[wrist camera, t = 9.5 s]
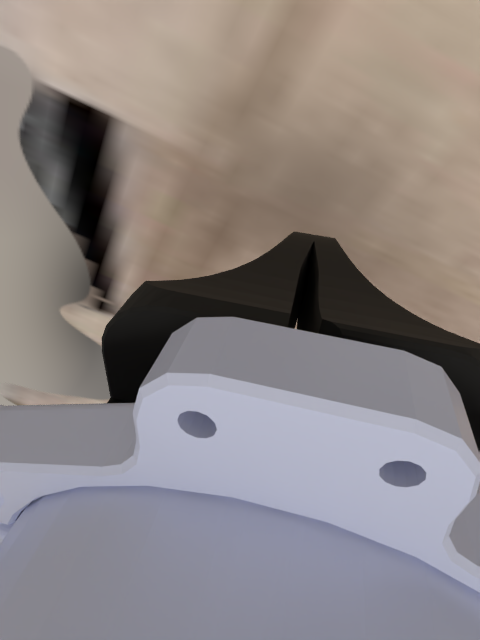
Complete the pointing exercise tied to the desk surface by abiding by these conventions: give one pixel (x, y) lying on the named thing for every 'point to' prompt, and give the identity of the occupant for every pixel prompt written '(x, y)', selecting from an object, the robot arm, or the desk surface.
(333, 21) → the desk surface
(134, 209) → the desk surface
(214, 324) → the robot arm
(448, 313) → the desk surface
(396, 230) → the desk surface
